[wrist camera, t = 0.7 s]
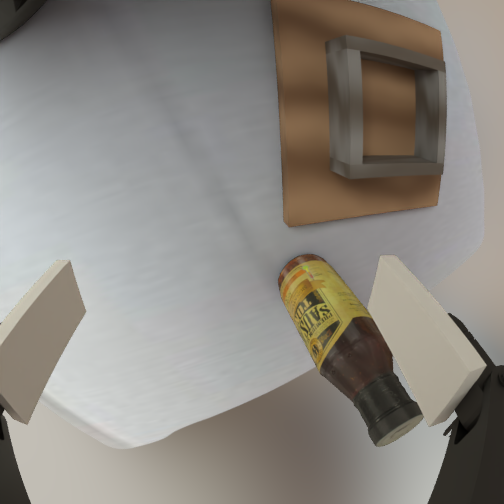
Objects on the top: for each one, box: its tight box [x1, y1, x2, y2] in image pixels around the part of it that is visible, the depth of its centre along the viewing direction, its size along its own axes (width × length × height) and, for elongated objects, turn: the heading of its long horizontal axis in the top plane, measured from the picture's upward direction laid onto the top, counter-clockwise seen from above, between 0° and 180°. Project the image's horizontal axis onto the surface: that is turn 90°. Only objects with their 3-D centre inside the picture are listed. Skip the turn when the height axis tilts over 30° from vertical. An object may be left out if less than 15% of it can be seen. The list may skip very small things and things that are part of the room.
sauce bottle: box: [278, 254, 424, 447], centre depth 23 cm, size 7×6×20 cm
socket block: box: [271, 0, 447, 227], centre depth 22 cm, size 22×20×5 cm
